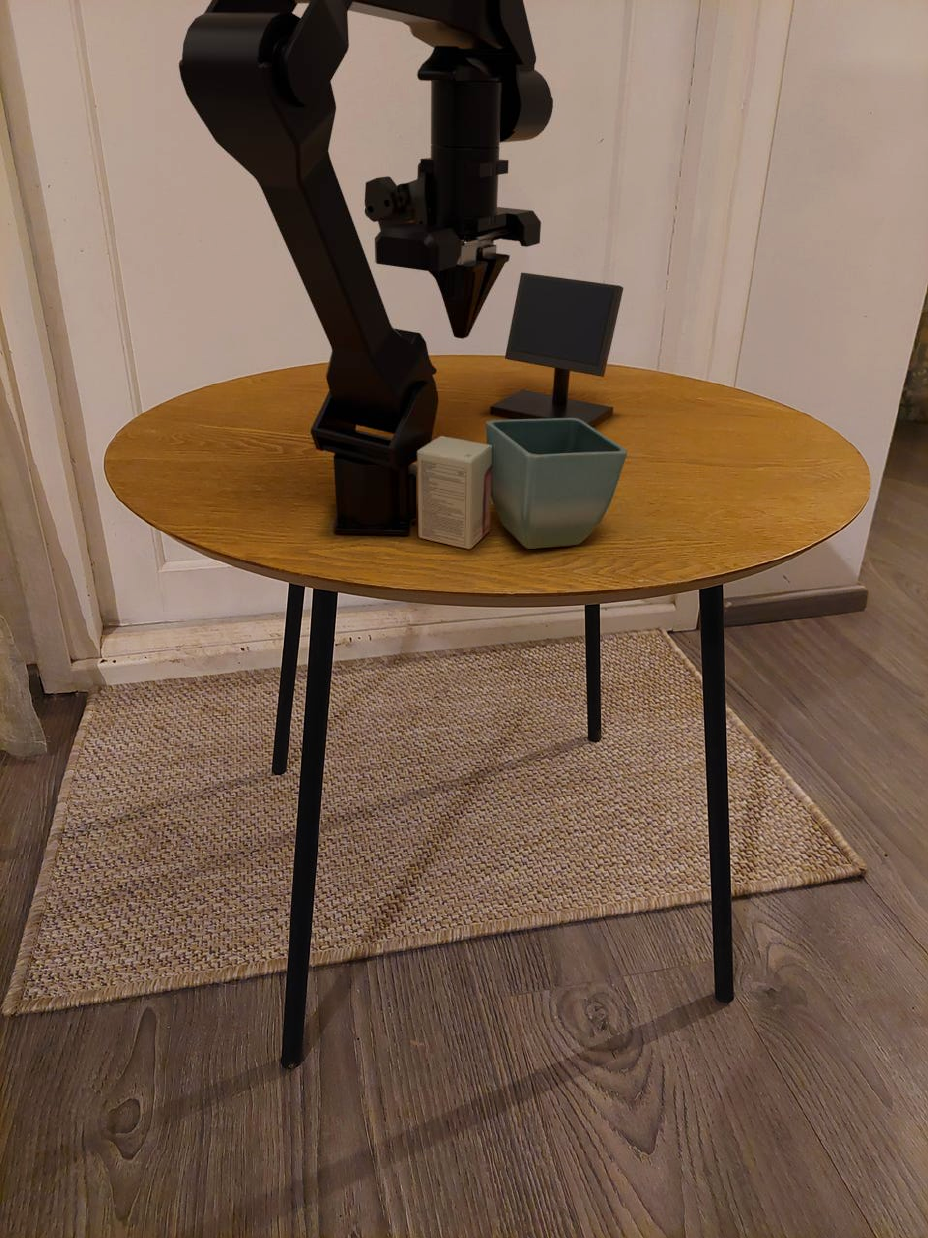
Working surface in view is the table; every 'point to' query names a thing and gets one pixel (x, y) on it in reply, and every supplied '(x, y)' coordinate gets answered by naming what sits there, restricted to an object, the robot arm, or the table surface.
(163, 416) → the table surface
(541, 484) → the flower pot
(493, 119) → the robot arm
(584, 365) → the monitor screen
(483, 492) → the small box
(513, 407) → the monitor stand
